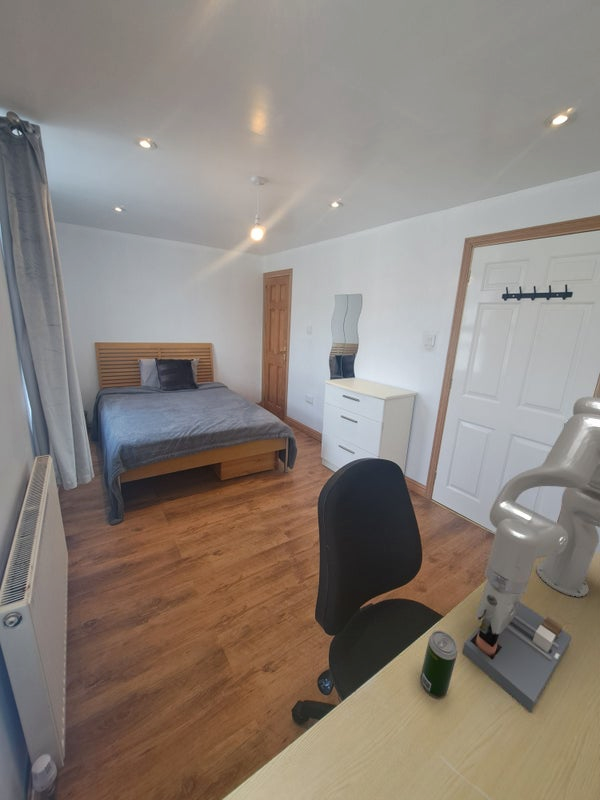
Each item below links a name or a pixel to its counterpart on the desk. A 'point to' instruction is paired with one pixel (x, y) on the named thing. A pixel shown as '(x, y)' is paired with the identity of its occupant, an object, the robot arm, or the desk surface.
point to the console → (520, 657)
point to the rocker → (552, 626)
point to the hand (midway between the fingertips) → (487, 639)
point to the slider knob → (543, 638)
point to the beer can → (438, 663)
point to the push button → (485, 647)
